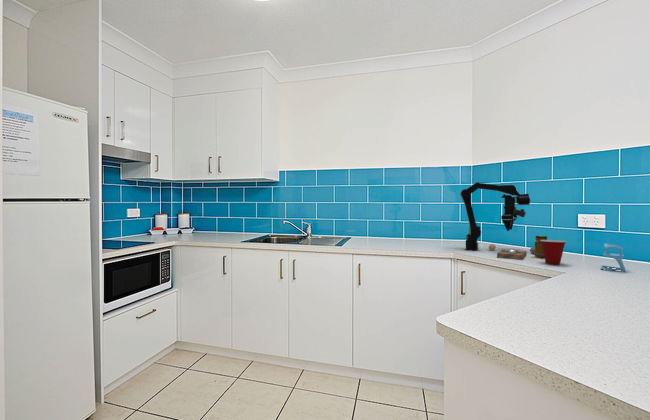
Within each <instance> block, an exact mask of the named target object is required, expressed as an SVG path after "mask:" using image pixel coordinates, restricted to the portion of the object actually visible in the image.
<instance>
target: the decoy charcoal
mask: <svg viewBox="0 0 650 420" xmlns="http://www.w3.org/2000/svg"><path fill="white" fill-rule="evenodd" d="M529 252H530V253H531V254H533V255H535V246H532V247H530V249H529Z"/></svg>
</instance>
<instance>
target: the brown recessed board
mask: <svg viewBox="0 0 650 420" xmlns="http://www.w3.org/2000/svg"><path fill="white" fill-rule="evenodd" d="M509 250H510V249H505V248H502V249H501V250H499V251H498V252H497V253H496V258H497V257H498V259H499V258H500V259H509V260H519V261H523V260H524V259H525V258H526V256H527V250H516V249H514V250H515V251H516V253H509V252H508V251H509Z"/></svg>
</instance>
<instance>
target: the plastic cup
mask: <svg viewBox="0 0 650 420" xmlns="http://www.w3.org/2000/svg"><path fill="white" fill-rule="evenodd" d="M540 241H541V244H542V247H543V253H544V257H545V259H544V261H545V264H547V265H553V266H554V265H555V266H559V265H560V264H561V261H562V258H563V252H564V248H565V245H566V243H567V240H556V239H555V240H554V239H547V240H540Z"/></svg>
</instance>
